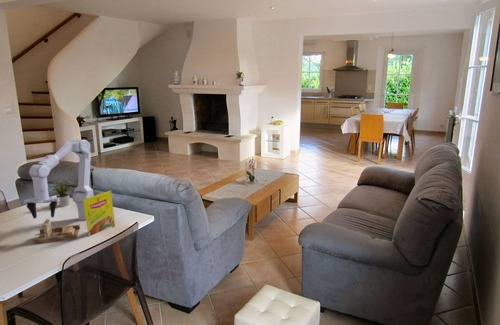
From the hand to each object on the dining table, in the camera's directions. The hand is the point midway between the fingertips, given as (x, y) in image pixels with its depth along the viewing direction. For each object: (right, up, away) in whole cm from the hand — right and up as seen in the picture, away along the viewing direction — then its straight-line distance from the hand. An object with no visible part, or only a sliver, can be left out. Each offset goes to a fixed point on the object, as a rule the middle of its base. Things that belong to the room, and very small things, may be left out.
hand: (44, 217), depth 168 cm
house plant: (-14, 0, +44) cm, 46 cm away
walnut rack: (+5, -10, +4) cm, 12 cm away
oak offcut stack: (+9, -9, +4) cm, 14 cm away
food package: (+24, -9, +9) cm, 27 cm away
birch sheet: (+1, -10, +2) cm, 10 cm away
